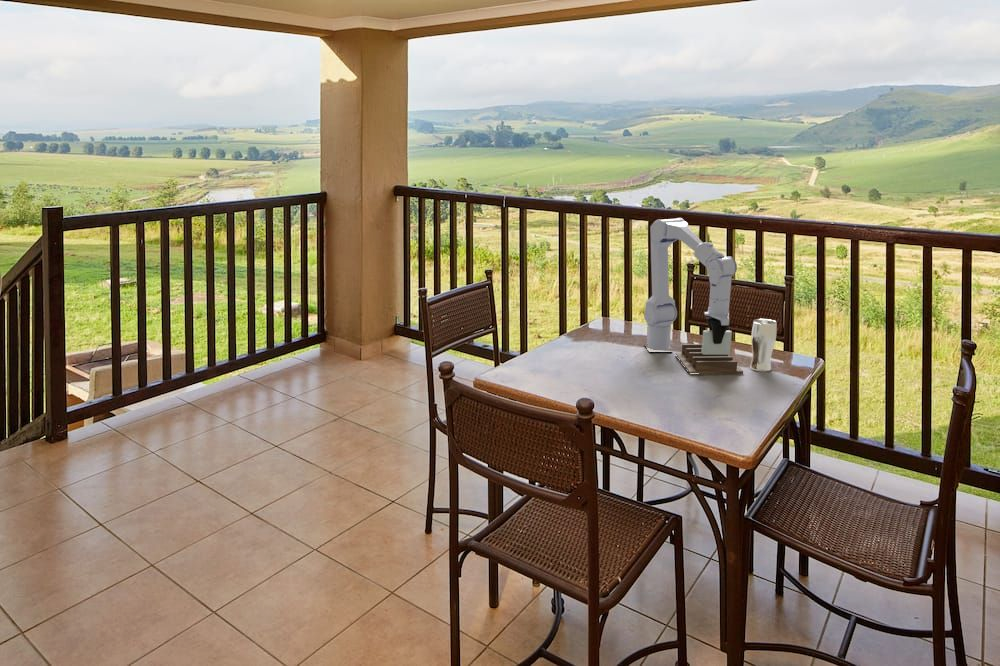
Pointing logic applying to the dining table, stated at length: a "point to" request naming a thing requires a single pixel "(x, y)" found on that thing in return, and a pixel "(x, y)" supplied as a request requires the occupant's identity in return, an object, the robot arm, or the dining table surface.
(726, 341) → the tile
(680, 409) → the dining table surface
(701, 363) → the rack
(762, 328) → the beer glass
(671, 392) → the dining table surface
